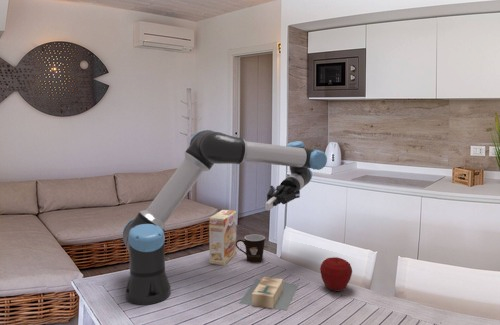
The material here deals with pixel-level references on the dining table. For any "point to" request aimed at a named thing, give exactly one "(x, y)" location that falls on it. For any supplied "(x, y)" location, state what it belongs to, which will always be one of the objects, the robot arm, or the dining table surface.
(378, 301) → the dining table surface
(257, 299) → the letter block
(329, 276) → the apple
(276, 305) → the mat
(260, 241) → the coffee mug
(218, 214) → the coffeecake box
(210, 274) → the dining table surface
